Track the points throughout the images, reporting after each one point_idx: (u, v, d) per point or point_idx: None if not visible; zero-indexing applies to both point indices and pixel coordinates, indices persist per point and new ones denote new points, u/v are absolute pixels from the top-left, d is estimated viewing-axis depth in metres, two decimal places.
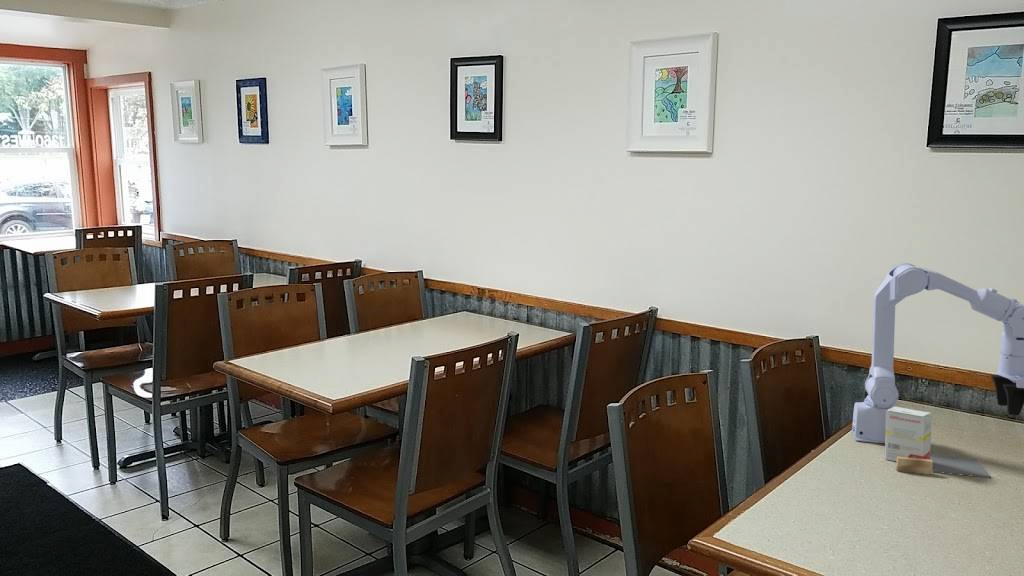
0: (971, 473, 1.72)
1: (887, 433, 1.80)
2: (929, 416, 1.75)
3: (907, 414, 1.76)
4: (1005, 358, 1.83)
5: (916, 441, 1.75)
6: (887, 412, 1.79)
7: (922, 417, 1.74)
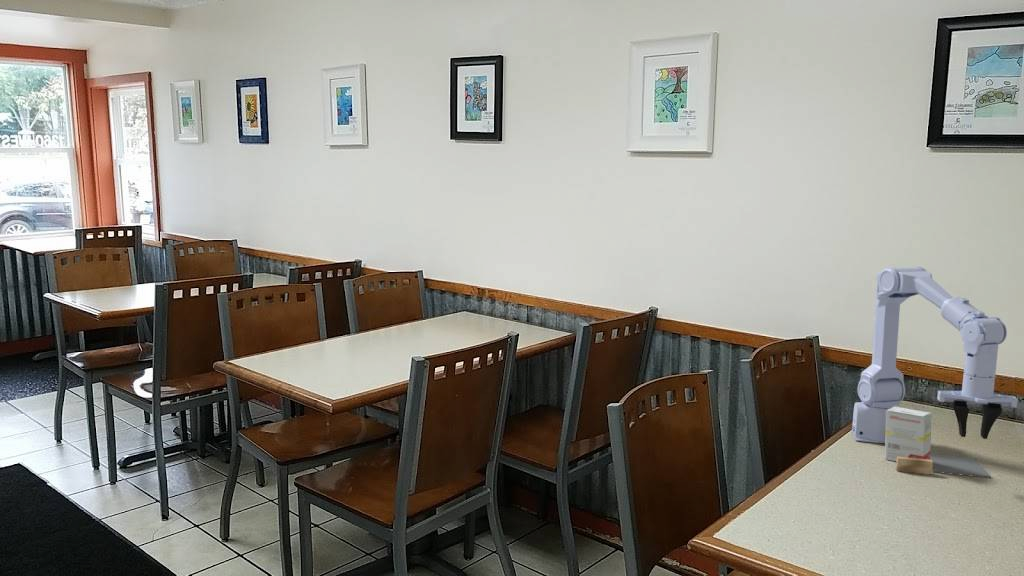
0: (971, 473, 1.72)
1: (887, 433, 1.80)
2: (929, 416, 1.75)
3: (907, 414, 1.76)
4: None
5: (916, 441, 1.75)
6: (887, 412, 1.79)
7: (922, 417, 1.74)
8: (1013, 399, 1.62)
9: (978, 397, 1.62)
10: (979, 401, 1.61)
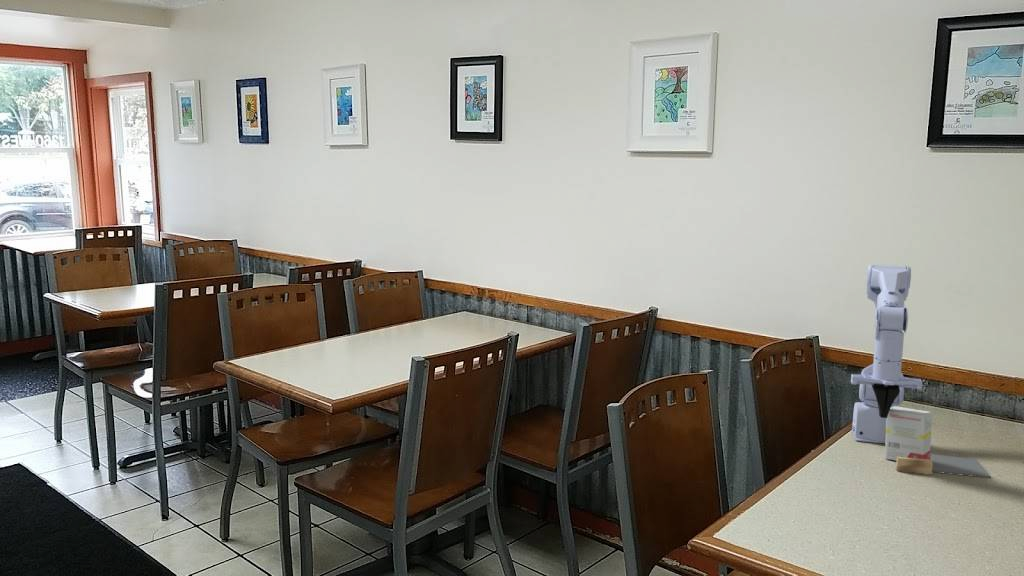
0: (971, 473, 1.72)
1: (887, 432, 1.80)
2: (929, 415, 1.76)
3: (907, 412, 1.77)
4: None
5: (917, 439, 1.75)
6: None
7: (922, 415, 1.74)
8: (918, 381, 1.75)
9: (886, 380, 1.75)
10: (886, 383, 1.74)
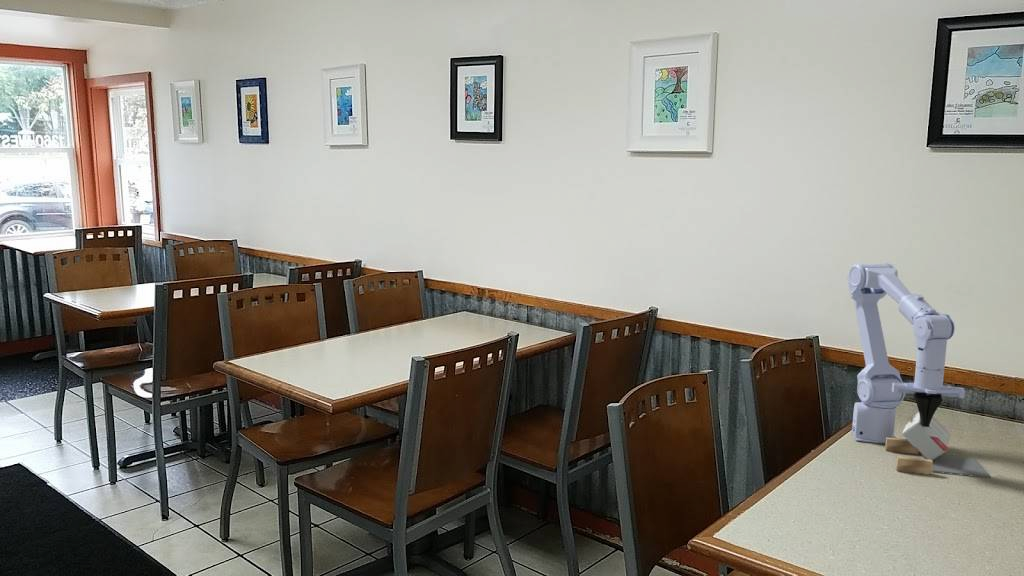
0: (971, 473, 1.72)
1: None
2: None
3: (938, 422, 1.86)
4: None
5: (943, 437, 1.81)
6: None
7: None
8: (961, 390, 1.73)
9: (928, 388, 1.73)
10: (929, 392, 1.72)
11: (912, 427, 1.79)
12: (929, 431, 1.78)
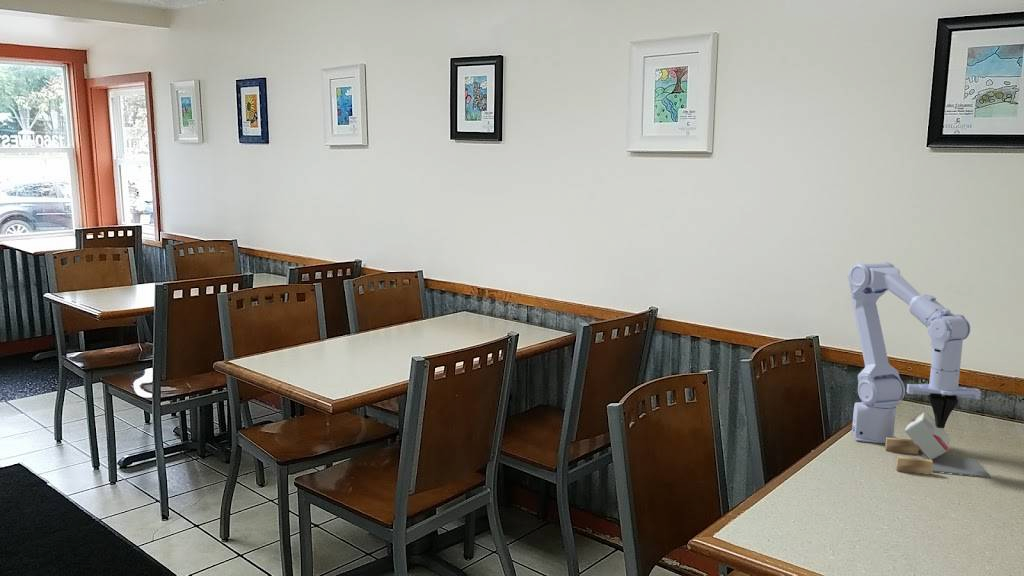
0: (971, 473, 1.72)
1: (925, 416, 1.84)
2: None
3: None
4: None
5: (944, 438, 1.81)
6: None
7: (948, 437, 1.86)
8: (976, 391, 1.72)
9: (944, 390, 1.73)
10: (944, 393, 1.72)
11: (915, 424, 1.79)
12: (932, 430, 1.78)
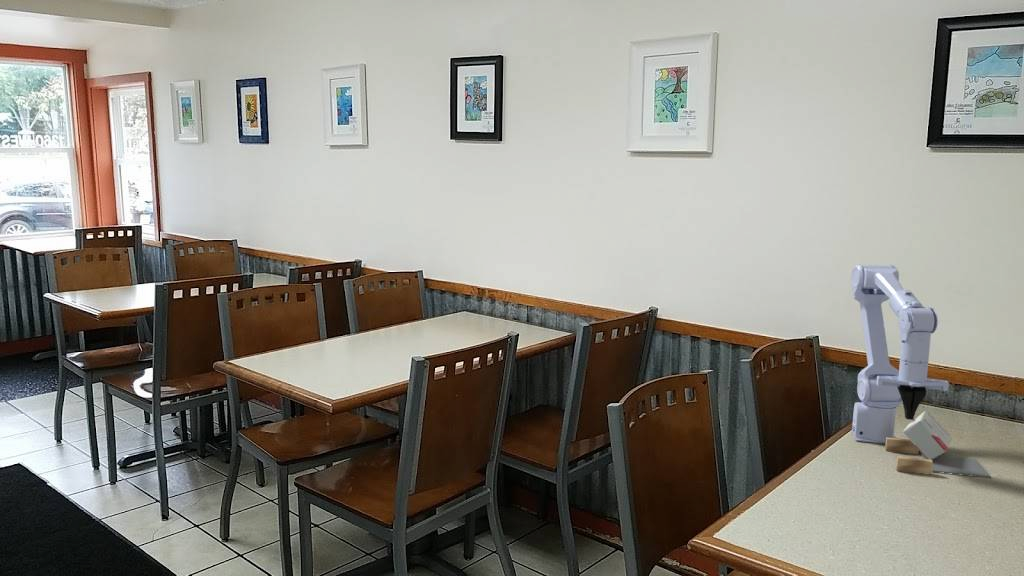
0: (971, 473, 1.72)
1: (924, 416, 1.83)
2: None
3: (940, 425, 1.86)
4: None
5: (944, 438, 1.81)
6: (926, 411, 1.88)
7: (950, 436, 1.85)
8: (945, 383, 1.74)
9: (912, 381, 1.74)
10: (913, 385, 1.73)
11: (914, 425, 1.79)
12: (930, 430, 1.78)
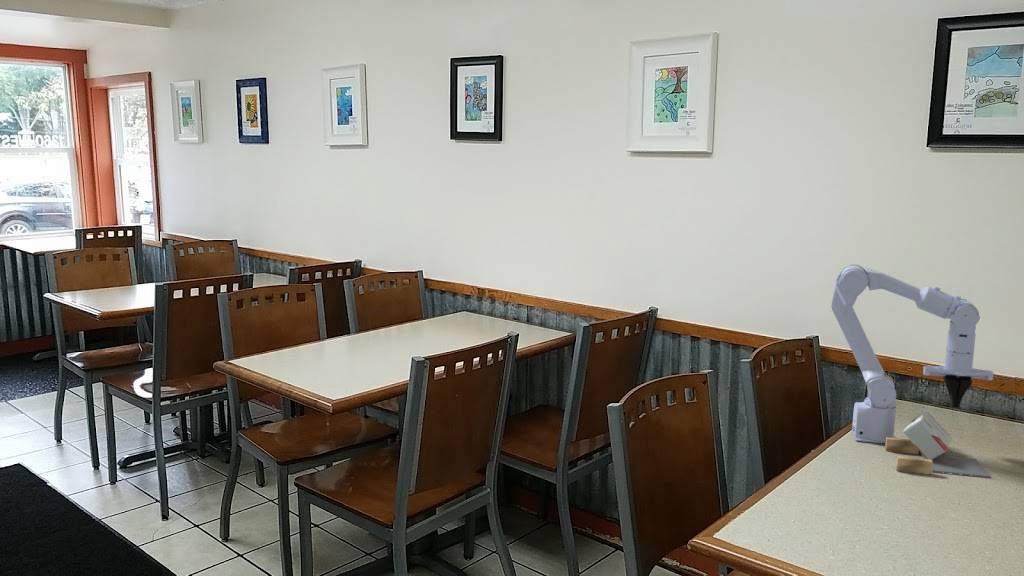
0: (971, 473, 1.72)
1: (924, 416, 1.83)
2: None
3: (940, 425, 1.86)
4: None
5: (944, 438, 1.81)
6: (926, 411, 1.88)
7: (950, 436, 1.85)
8: (989, 373, 1.83)
9: (959, 371, 1.83)
10: (959, 374, 1.82)
11: (914, 425, 1.79)
12: (930, 430, 1.78)
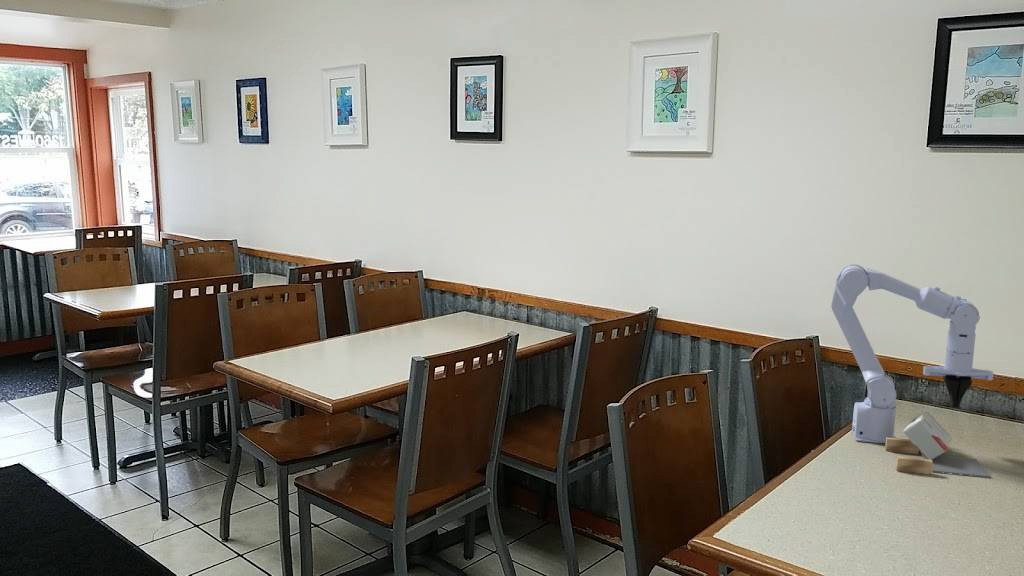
0: (971, 473, 1.72)
1: (924, 416, 1.83)
2: None
3: (940, 425, 1.86)
4: None
5: (944, 438, 1.81)
6: (926, 411, 1.88)
7: (950, 436, 1.85)
8: (989, 373, 1.83)
9: (959, 371, 1.83)
10: (959, 374, 1.82)
11: (914, 425, 1.79)
12: (930, 430, 1.78)
